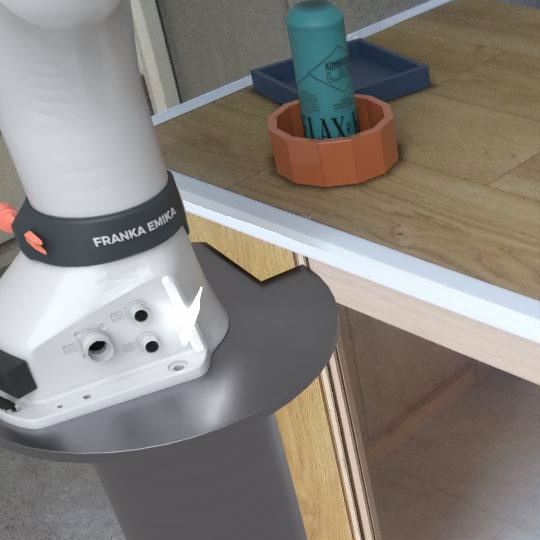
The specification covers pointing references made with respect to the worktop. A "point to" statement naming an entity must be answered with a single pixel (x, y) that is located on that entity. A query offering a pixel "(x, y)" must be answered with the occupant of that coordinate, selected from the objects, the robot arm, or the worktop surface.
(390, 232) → the worktop surface
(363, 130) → the bowl
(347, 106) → the beverage bottle
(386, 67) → the tray
